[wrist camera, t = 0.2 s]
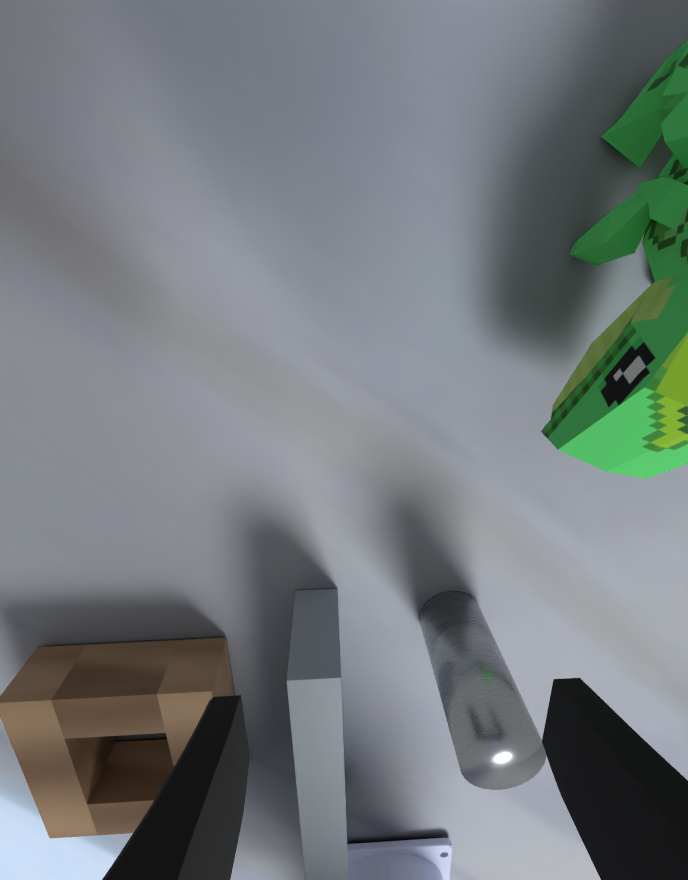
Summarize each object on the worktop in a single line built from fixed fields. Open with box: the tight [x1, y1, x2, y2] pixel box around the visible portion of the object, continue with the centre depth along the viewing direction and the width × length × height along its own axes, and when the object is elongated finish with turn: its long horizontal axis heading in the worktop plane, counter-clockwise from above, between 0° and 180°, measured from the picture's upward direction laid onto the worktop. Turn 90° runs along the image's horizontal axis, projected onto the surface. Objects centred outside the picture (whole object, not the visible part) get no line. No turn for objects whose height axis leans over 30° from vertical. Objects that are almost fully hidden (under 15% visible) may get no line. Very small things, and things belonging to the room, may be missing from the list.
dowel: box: [420, 591, 546, 790], centre depth 19 cm, size 3×3×7 cm
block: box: [0, 638, 235, 838], centre depth 22 cm, size 9×9×3 cm
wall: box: [287, 589, 349, 880], centre depth 21 cm, size 14×2×5 cm, turn 2°
